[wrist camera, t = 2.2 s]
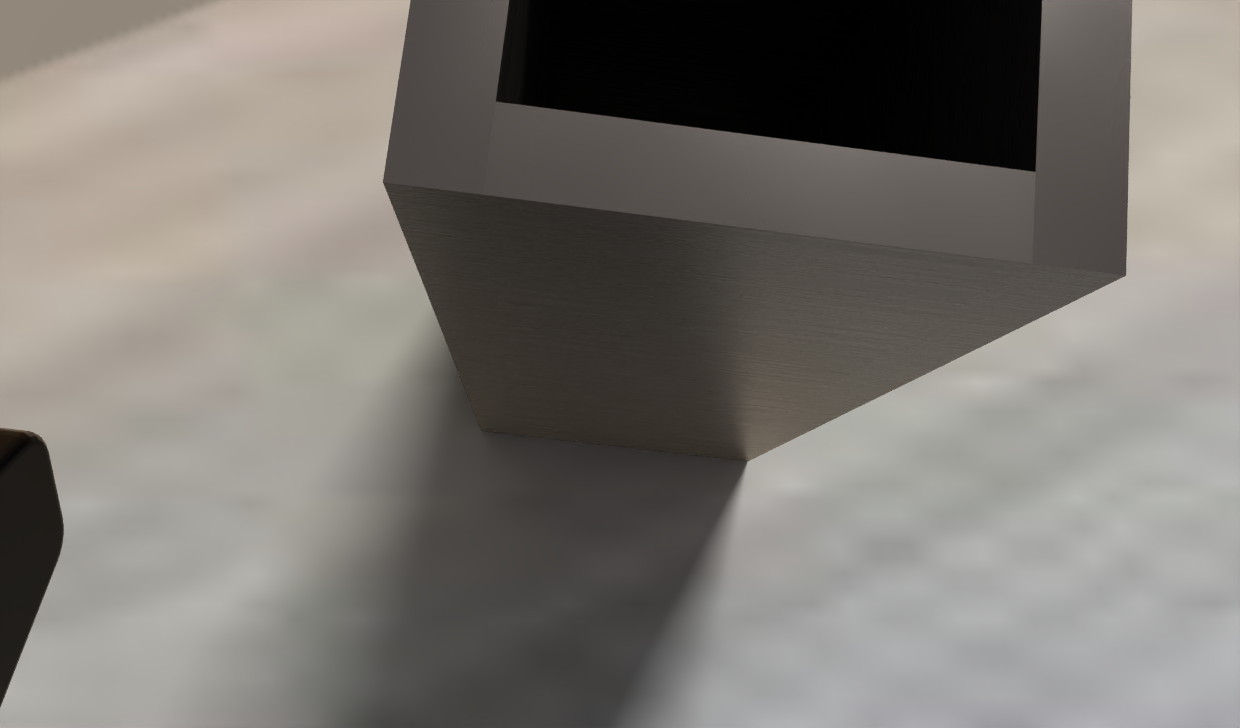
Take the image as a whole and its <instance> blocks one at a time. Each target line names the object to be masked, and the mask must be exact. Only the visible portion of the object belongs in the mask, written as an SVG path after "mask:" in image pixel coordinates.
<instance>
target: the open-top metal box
mask: <svg viewBox="0 0 1240 728" xmlns="http://www.w3.org/2000/svg"><path fill="white" fill-rule="evenodd" d="M1131 28H1132V0H411V2H410V9H409V15H408V22H407V29H406V35H405V42H404V48H403V55H402V61H401V68H400V74H399V81H398V87H397V94H396V100H395V107H394V114H393V120H392V127H391V133H390V140H389V146H388V153H387V159H386V166H385V172H384V179H383V183H384V186H385V188H386V191H387V193H388V196H389V198H390V201H391V204H392V206H393V209H394V211H395V214H396V216H397V219H398V221H399V224H400V226H401V229H402V231H403V234H404V236H405V239H406V241H407V244H408V246H409V249H410V252H411V254H412V257H413V259H414V262H415V264H416V267H417V269H418V272H419V274H420V277H421V279H422V282H423V284H424V287H425V289H426V292H427V294H428V297H429V300H430V302H431V305H432V307H433V310H434V312H435V315H436V317H437V320H438V322H439V325H440V327H441V330H442V332H443V335H444V337H445V340H446V342H447V345H448V347H449V350H450V353H451V355H452V358H453V360H454V363H455V365H456V368H457V370H458V373H459V375H460V378H461V380H462V383H463V385H464V388H465V390H466V393H467V395H468V398H469V401H470V403H471V406H472V408H473V411H474V413H475V416H476V418H477V421H478V423H479V426H480V428H481V431H489V432H498V433H506V434H515V435H524V436H533V437H541V438H550V439H559V440H568V441H576V442H585V443H594V444H603V445H611V446H620V447H629V448H638V449H646V450H655V451H664V452H673V453H681V454H690V455H699V456H708V457H716V458H725V459H734V460H743V461H749V460H751V459H754V458H756V457H758V456H760V455H762V454H764V453H766V452H768V451H770V450H772V449H774V448H776V447H778V446H780V445H782V444H784V443H786V442H788V441H790V440H792V439H794V438H796V437H798V436H800V435H802V434H804V433H806V432H808V431H811V430H813V429H815V428H817V427H819V426H821V425H823V424H825V423H827V422H829V421H831V420H833V419H835V418H837V417H839V416H841V415H843V414H845V413H847V412H849V411H851V410H853V409H855V408H857V407H859V406H861V405H863V404H865V403H868V402H870V401H872V400H874V399H876V398H878V397H880V396H882V395H884V394H886V393H888V392H890V391H892V390H894V389H896V388H898V387H900V386H902V385H904V384H906V383H908V382H910V381H912V380H914V379H916V378H918V377H920V376H923V375H925V374H927V373H929V372H931V371H933V370H935V369H937V368H939V367H941V366H943V365H945V364H947V363H949V362H951V361H953V360H955V359H957V358H959V357H961V356H963V355H965V354H967V353H969V352H971V351H973V350H975V349H977V348H980V347H982V346H984V345H986V344H988V343H990V342H992V341H994V340H996V339H998V338H1000V337H1002V336H1004V335H1006V334H1008V333H1010V332H1012V331H1014V330H1016V329H1018V328H1020V327H1022V326H1024V325H1026V324H1028V323H1030V322H1032V321H1034V320H1037V319H1039V318H1041V317H1043V316H1045V315H1047V314H1049V313H1051V312H1053V311H1055V310H1057V309H1059V308H1061V307H1063V306H1065V305H1067V304H1069V303H1071V302H1073V301H1075V300H1077V299H1079V298H1081V297H1083V296H1085V295H1087V294H1089V293H1092V292H1094V291H1096V290H1098V289H1100V288H1102V287H1104V286H1106V285H1108V284H1110V283H1112V282H1114V281H1116V280H1118V279H1120V278H1122V277H1124V276H1126V252H1127V207H1128V162H1129V118H1130V73H1131Z"/></svg>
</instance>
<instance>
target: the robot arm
mask: <svg viewBox="0 0 1240 728" xmlns="http://www.w3.org/2000/svg"><path fill="white" fill-rule="evenodd" d="M63 535H64V525H63V517H62V513H61V508H60V503H59V498H58V494H57V489H56V484H55V480H54V475H53V470H52V465H51V461H50V456H49V452H48V449H47V446H46V444H45V442H44V441H43V439H42V438H41V437H40V436H39V435H37V434H35V433H33V432H30V431H24V430H15V429H6V428H0V707H1V704H2V702H3V699H4V697H5V694H6V692H7V689H8V686H9V684H10V681H11V679H12V676H13V674H14V671H15V669H16V666H17V663H18V661H19V658H20V656H21V653H22V651H23V648H24V646H25V643H26V640H27V638H28V635H29V633H30V630H31V628H32V625H33V622H34V620H35V617H36V615H37V612H38V610H39V607H40V605H41V602H42V599H43V597H44V594H45V592H46V589H47V587H48V584H49V582H50V579H51V576H52V574H53V571H54V569H55V566H56V564H57V561H58V558H59V555H60V552H61V548H62V543H63Z"/></svg>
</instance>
